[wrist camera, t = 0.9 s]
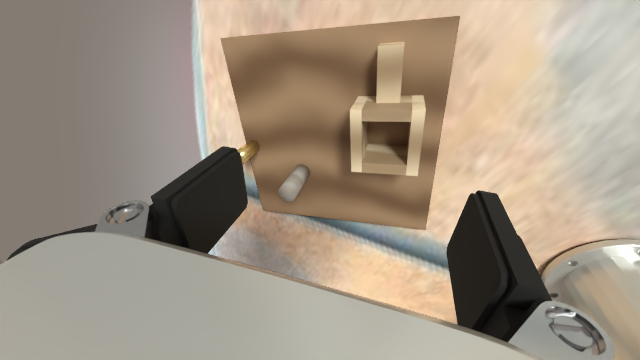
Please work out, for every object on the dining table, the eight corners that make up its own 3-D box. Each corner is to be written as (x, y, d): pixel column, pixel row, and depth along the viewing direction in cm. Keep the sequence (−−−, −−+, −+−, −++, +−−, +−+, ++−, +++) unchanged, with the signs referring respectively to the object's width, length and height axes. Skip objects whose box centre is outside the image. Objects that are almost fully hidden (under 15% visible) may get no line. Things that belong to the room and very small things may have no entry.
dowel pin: (261, 151, 32) (246, 164, 30) (249, 151, 33) (234, 164, 30) (258, 139, 32) (243, 152, 29) (246, 139, 32) (231, 151, 29)
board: (424, 223, 32) (427, 261, 27) (266, 205, 39) (245, 233, 34) (457, 16, 21) (472, 16, 16) (227, 37, 27) (186, 42, 22)
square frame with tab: (416, 154, 27) (417, 176, 23) (358, 151, 29) (351, 171, 25) (429, 39, 22) (433, 44, 18) (357, 45, 23) (348, 50, 20)
